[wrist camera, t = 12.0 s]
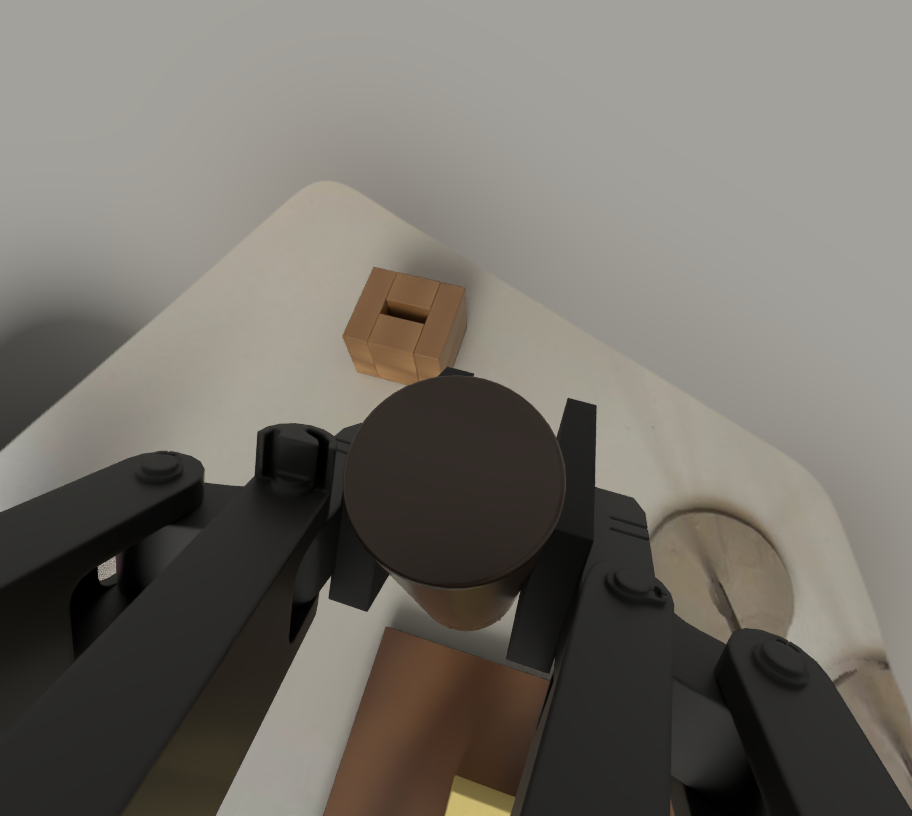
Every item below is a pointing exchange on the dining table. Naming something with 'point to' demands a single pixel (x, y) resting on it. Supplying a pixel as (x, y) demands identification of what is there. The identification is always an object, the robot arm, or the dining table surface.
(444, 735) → the butter board
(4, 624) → the robot arm
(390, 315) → the knife stand
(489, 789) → the butter slice
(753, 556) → the dining table surface
